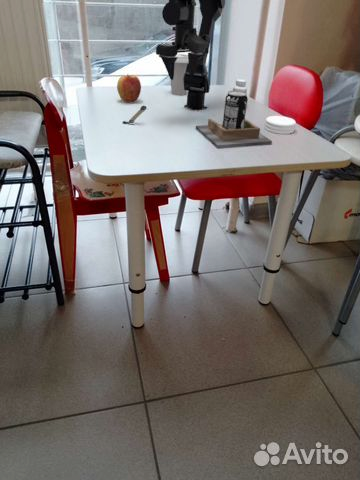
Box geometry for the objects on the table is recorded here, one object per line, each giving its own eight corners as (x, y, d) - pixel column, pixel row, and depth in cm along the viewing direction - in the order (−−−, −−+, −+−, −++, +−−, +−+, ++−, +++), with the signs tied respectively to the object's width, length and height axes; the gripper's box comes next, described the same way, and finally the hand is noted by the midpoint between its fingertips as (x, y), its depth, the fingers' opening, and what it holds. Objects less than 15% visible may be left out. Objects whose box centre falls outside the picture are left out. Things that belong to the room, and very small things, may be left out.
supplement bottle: (229, 106, 142) (232, 80, 136) (232, 103, 146) (236, 78, 140) (242, 109, 140) (246, 82, 135) (245, 105, 145) (249, 79, 139)
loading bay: (195, 128, 117) (196, 116, 115) (244, 125, 123) (246, 114, 120) (217, 148, 104) (218, 134, 101) (271, 144, 109) (274, 131, 106)
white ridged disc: (299, 134, 118) (301, 124, 116) (271, 135, 117) (273, 124, 114) (285, 125, 126) (288, 115, 124) (259, 125, 124) (261, 115, 122)
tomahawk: (140, 129, 118) (141, 125, 117) (121, 125, 118) (121, 122, 118) (158, 111, 134) (158, 108, 134) (141, 108, 135) (141, 104, 134)
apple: (125, 105, 136) (124, 77, 130) (113, 100, 142) (112, 72, 136) (145, 102, 141) (145, 75, 135) (132, 97, 146) (132, 71, 141)
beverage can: (238, 129, 116) (244, 90, 109) (245, 136, 111) (251, 95, 104) (219, 129, 115) (223, 90, 108) (225, 136, 110) (230, 95, 103)
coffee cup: (189, 96, 152) (192, 57, 143) (167, 95, 152) (168, 56, 143) (189, 91, 160) (191, 54, 151) (168, 90, 160) (169, 53, 151)
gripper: (180, 26, 100) (178, 86, 109) (223, 25, 111) (218, 79, 120) (155, 23, 107) (154, 79, 116) (198, 22, 118) (194, 73, 127)
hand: (181, 78), depth 119 cm, fingers open, 9 cm apart
